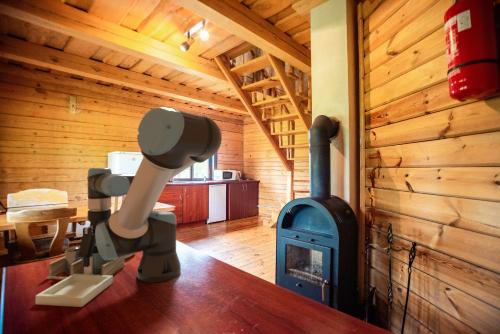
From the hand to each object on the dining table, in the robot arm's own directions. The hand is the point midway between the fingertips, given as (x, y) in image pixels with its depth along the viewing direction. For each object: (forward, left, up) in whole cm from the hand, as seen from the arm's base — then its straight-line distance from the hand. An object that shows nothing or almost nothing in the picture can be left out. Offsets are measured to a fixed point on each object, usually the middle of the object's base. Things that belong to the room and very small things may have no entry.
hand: (99, 268), depth 91 cm
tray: (-3, +15, -1) cm, 15 cm away
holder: (+5, 0, -1) cm, 5 cm away
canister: (+10, 0, -1) cm, 10 cm away
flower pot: (0, 0, -2) cm, 2 cm away
